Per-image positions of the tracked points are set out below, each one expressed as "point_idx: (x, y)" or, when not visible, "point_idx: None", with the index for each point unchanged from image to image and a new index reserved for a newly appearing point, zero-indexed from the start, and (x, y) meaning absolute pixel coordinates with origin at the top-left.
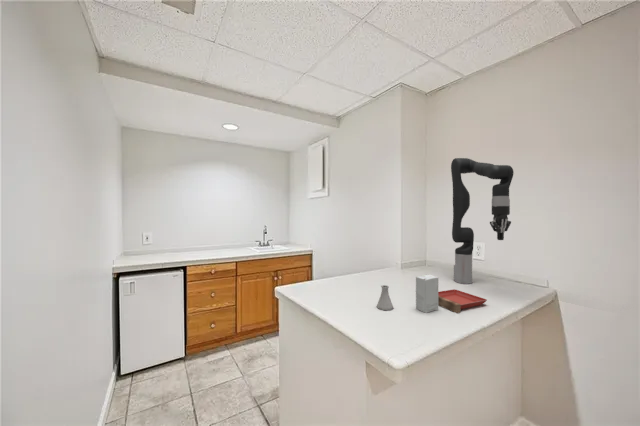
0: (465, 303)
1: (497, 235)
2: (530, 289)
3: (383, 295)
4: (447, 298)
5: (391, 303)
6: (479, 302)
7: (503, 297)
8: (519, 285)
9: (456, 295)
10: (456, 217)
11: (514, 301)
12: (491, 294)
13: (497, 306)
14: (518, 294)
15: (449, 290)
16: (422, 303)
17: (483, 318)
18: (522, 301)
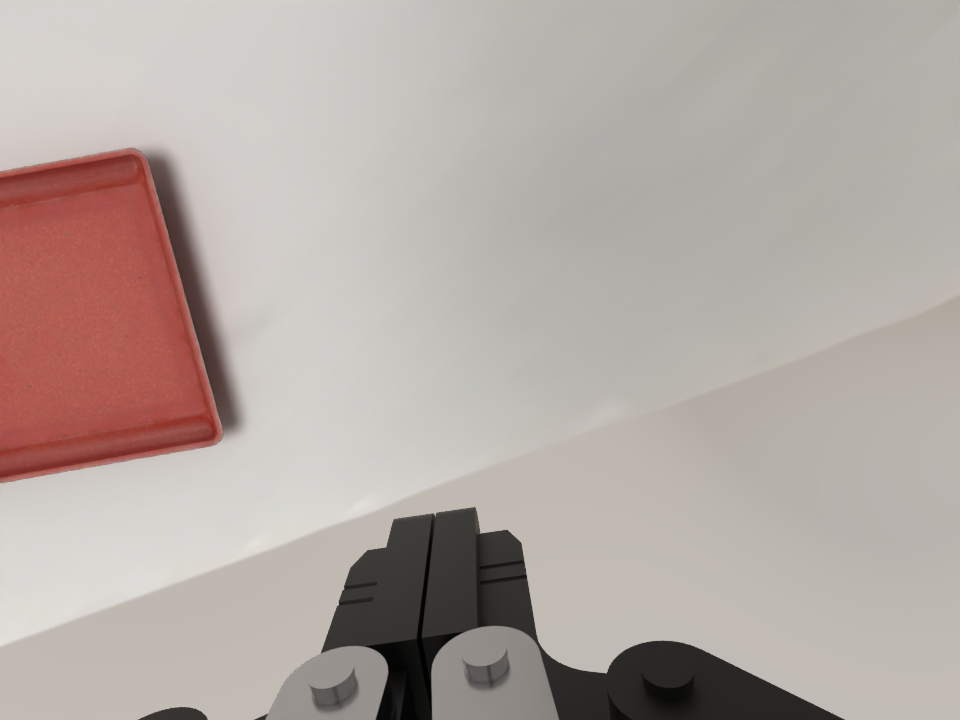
0: (92, 380)
1: (338, 621)
2: (905, 208)
3: None
4: (19, 254)
5: None
6: (146, 450)
7: (493, 320)
8: (947, 79)
9: (143, 202)
10: None
11: (492, 409)
12: (465, 236)
13: (292, 458)
14: (673, 291)
15: (73, 165)
16: None
17: (57, 587)
18: (547, 422)
